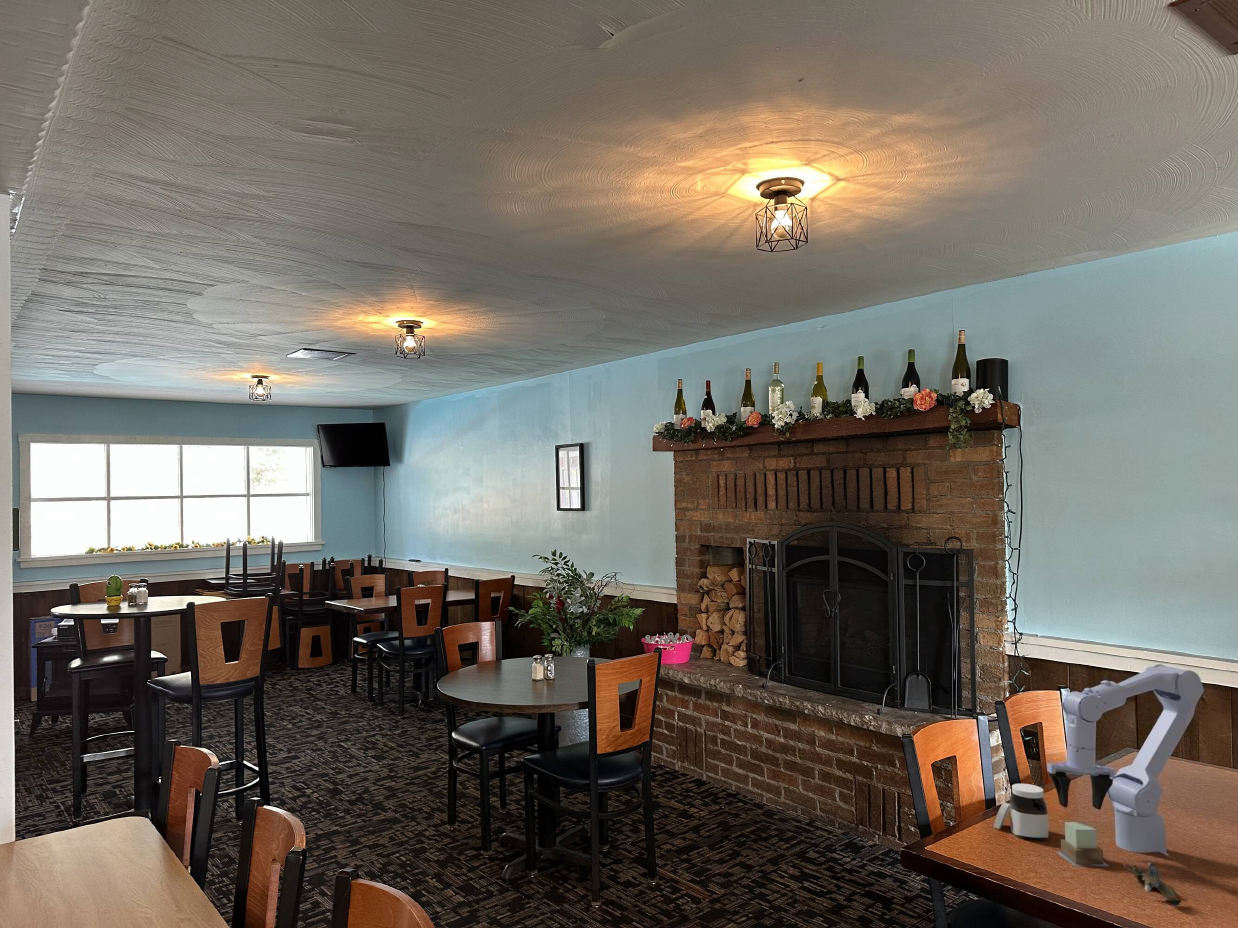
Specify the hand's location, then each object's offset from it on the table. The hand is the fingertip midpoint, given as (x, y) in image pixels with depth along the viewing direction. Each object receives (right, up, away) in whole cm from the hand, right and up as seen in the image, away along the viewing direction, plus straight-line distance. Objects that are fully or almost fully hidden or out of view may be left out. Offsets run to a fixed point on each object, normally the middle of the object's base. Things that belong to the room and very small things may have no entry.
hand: (1080, 806), depth 188 cm
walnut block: (-3, -9, -5) cm, 11 cm away
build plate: (-3, -10, -3) cm, 11 cm away
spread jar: (-9, -11, +10) cm, 18 cm away
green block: (-3, -6, -5) cm, 8 cm away
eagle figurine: (+3, -9, -21) cm, 23 cm away
